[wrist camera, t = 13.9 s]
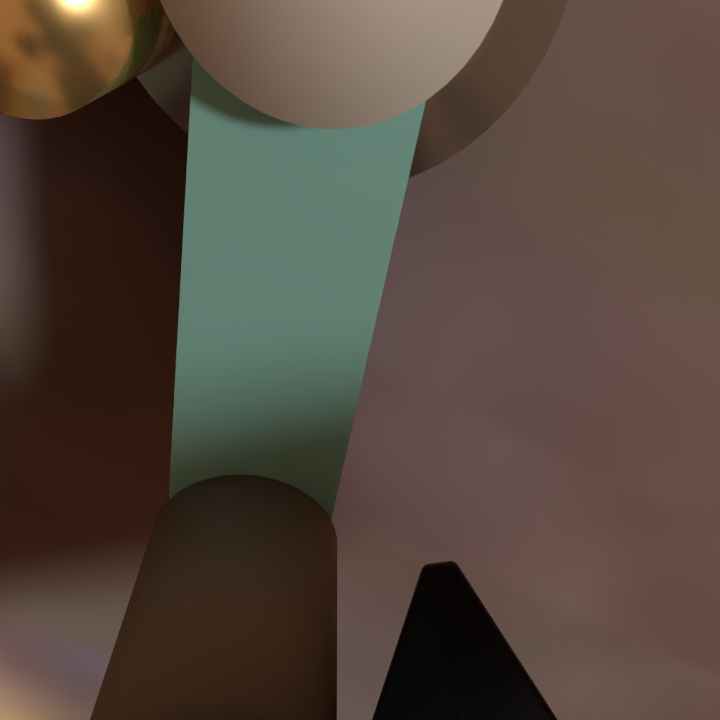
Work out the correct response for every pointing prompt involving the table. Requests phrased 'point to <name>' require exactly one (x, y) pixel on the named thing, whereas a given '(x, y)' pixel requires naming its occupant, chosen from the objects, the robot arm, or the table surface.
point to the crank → (275, 340)
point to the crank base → (174, 61)
